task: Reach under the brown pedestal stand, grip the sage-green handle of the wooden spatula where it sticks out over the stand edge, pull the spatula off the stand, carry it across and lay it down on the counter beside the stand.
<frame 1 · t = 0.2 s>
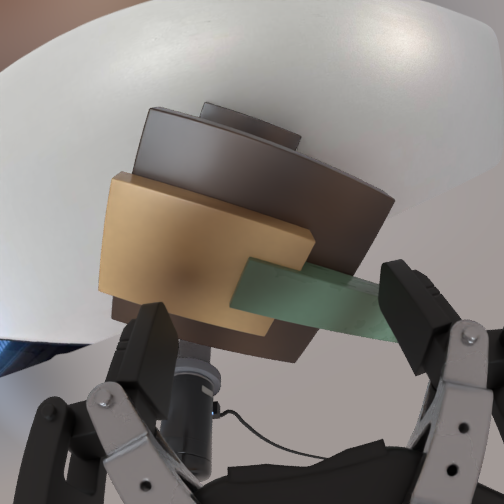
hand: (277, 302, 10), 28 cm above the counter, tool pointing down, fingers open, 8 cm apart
brown pedestal stand: (236, 162, 35), on the counter
spatula: (218, 261, 14), point 24 cm above the counter, touching brown pedestal stand
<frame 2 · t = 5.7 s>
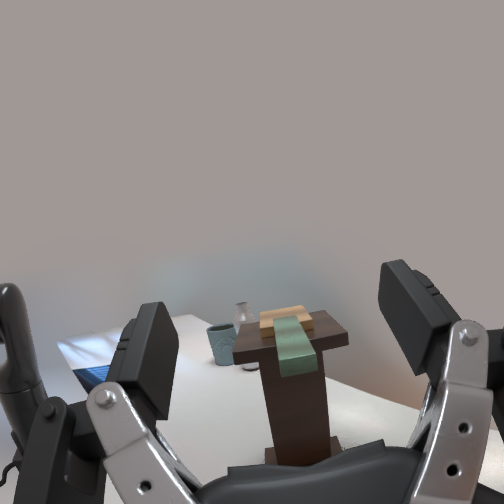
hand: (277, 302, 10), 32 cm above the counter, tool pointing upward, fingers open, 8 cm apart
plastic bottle: (253, 368, 83), on the counter
brown pedestal stand: (305, 470, 34), on the counter
blue-grey embossed cup: (228, 361, 93), on the counter
spatula: (285, 326, 35), point 24 cm above the counter, touching brown pedestal stand
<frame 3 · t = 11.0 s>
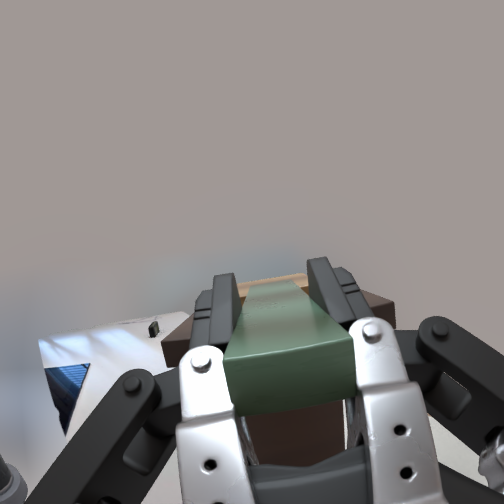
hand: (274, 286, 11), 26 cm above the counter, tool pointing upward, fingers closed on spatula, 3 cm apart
spatula: (273, 301, 21), point 24 cm above the counter, touching gripper, brown pedestal stand
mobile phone: (155, 334, 123), on the counter
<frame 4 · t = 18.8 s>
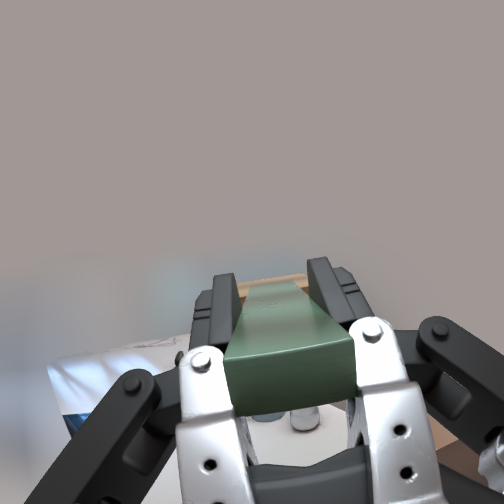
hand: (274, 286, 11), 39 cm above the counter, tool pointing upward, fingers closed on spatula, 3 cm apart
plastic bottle: (306, 426, 57), on the counter
blue-grey embossed cup: (267, 413, 66), on the counter
spatula: (273, 301, 21), point 36 cm above the counter, touching gripper
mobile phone: (181, 366, 111), on the counter
when the fingers open (9 cm above the counter, at t = 26.9 s): spatula drops 3 cm, on the counter.
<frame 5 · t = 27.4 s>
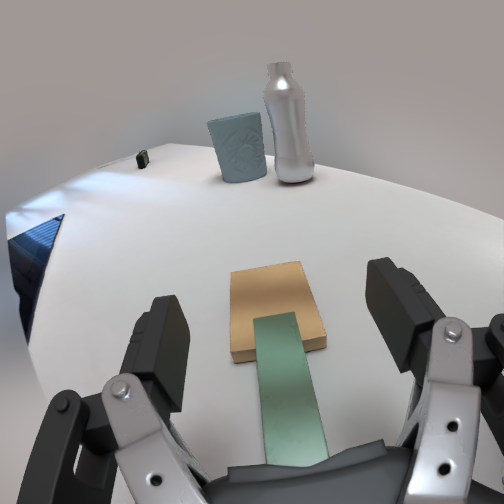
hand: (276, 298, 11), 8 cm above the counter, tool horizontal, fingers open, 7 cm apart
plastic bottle: (296, 182, 48), on the counter
blue-grey embossed cup: (244, 176, 56), on the counter
spatula: (274, 320, 21), on the counter
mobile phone: (144, 165, 96), on the counter
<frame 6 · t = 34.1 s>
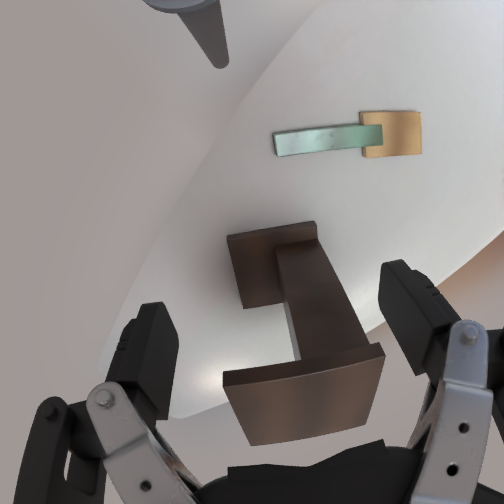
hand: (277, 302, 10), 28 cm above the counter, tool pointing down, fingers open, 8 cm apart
brown pedestal stand: (276, 264, 43), on the counter
spatula: (384, 133, 34), on the counter
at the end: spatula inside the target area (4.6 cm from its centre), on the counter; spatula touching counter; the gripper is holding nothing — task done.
